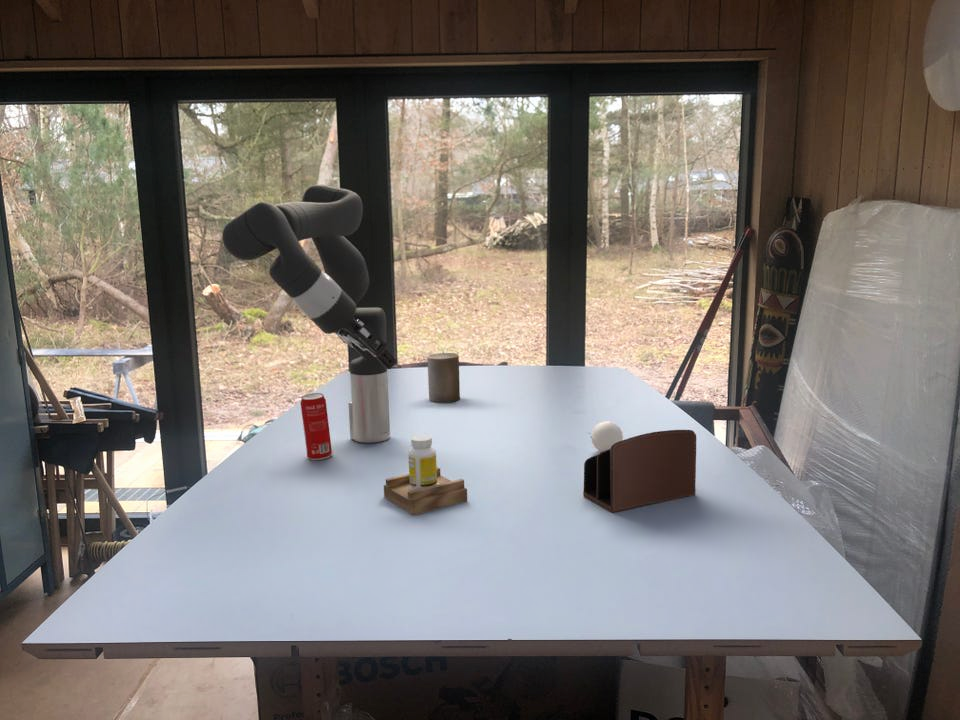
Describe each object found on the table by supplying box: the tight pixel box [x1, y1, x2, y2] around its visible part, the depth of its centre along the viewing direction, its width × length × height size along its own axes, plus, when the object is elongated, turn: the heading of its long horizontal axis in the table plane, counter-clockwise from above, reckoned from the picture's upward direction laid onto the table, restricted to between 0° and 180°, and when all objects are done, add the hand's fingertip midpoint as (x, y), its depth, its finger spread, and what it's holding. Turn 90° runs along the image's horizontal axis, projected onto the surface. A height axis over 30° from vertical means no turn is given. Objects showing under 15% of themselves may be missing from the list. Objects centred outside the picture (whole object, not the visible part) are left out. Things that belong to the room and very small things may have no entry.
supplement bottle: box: [407, 434, 438, 490], centre depth 148 cm, size 5×5×10 cm
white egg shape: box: [588, 420, 624, 453], centre depth 177 cm, size 10×7×7 cm
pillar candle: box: [426, 351, 461, 404], centre depth 232 cm, size 10×10×15 cm
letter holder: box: [582, 429, 697, 514], centre depth 148 cm, size 10×20×14 cm, turn 115°
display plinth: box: [383, 466, 468, 516], centre depth 149 cm, size 12×12×4 cm
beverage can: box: [300, 392, 333, 461], centre depth 177 cm, size 6×6×15 cm
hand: (381, 360), depth 140 cm, fingers open, 8 cm apart
